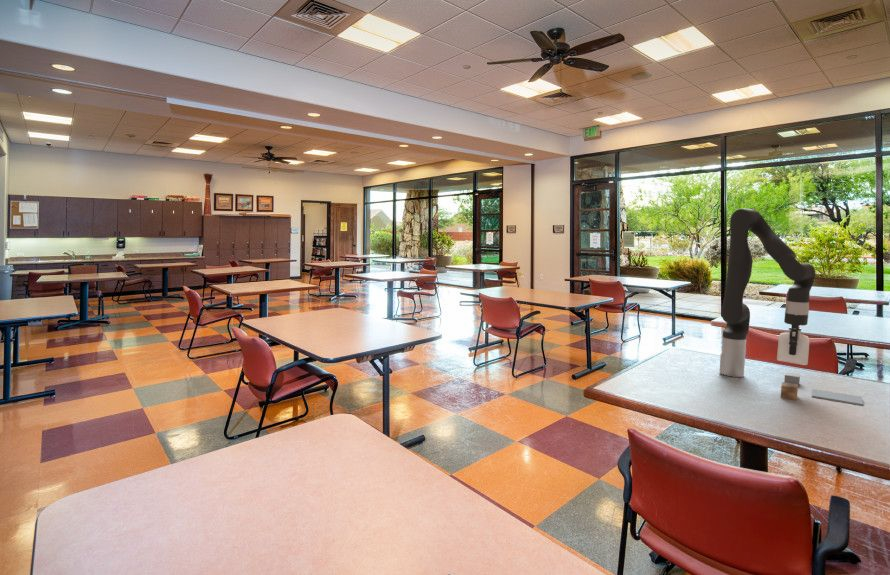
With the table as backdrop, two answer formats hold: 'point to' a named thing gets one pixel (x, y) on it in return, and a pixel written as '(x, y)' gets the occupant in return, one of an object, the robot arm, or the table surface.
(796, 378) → the gray block
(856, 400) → the slate mat
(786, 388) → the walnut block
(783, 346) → the photo printer
